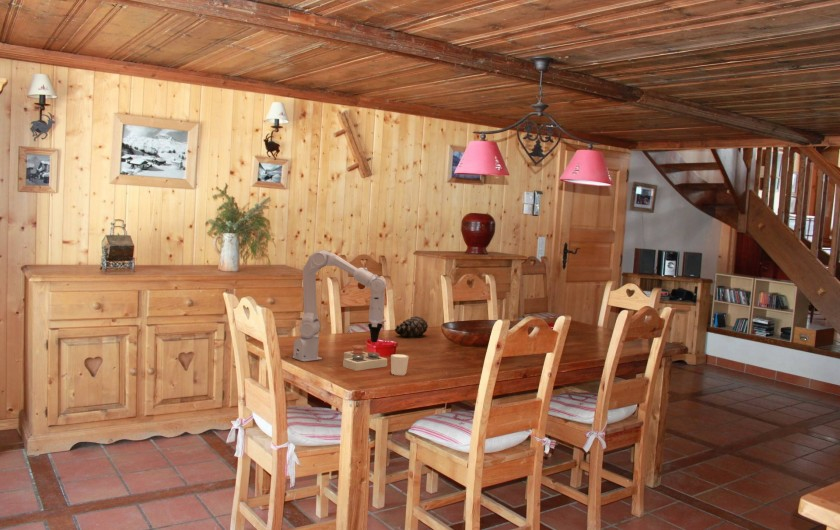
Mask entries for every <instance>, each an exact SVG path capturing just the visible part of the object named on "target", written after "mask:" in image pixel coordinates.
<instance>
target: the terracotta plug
mask: <svg viewBox="0 0 840 530" xmlns="http://www.w3.org/2000/svg"><path fill="white" fill-rule="evenodd" d="M364 349H365V346H364V345H361V344H355V345H354V344H353V345H352V351H353V354H361V355H363V352H364Z"/></svg>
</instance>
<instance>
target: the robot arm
mask: <svg viewBox="0 0 840 530" xmlns="http://www.w3.org/2000/svg"><path fill="white" fill-rule="evenodd" d="M329 266H330V267H333V266H334V267H336V268H339V269H340V270H343V271H344V272H347V273H348V274H350V275H351V276H353V279H354V280H355V282H358V283H359V284H361V285H363V286H364V287H366V288H369V290H370V297H369V308H368V309H369V310H368V311H369V312H368V319H367V321H368V322H370V323H368V325H367V327H368V329H369V334H370V341H371V343H377V342H378V341H379V335H380V332H381V330H382V327H383V323H386V322H387V320H386V319H385V318H384V313H385V312H384V310H385V298H386V297H385V294H386V293H385V290H386V288H387V281H386V279H384V278H383V277H382V276H379V275H378V274H376V273H373V272H371V271H369V270H368V267H356V266H355V265H353V264H352V263H350V262H348V261H347V260H345V259H344V258H341V257H340V256H339V255H337V254H335V253H334V252H330V250H327V249H322V250H315V251H314V252H313V253H311V254H310V255H309V256H308V260H307V261H306V263H305V265H304V266H303V268H302V286H303V287H302V291H303V295H302V296H303V297H302V299H303V315H302V318H301V324H300V327H299V332H300V337H298V338H295V339H294V342H293V355H292V357H291V358H293V359H295V360H298V361H301V362H310V361H317V360H319V361H320V360H323V358H322V357H319V356H318V355H319V342H320V335H319V333H320V331H321V329H322V325H321V322H320V321H319V314H318V312H317V311H318V309H317V284H316V283H317V280H316V277H317V273H318V272H319V271H320V270H321V269H322V268H324V267H329Z"/></svg>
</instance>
